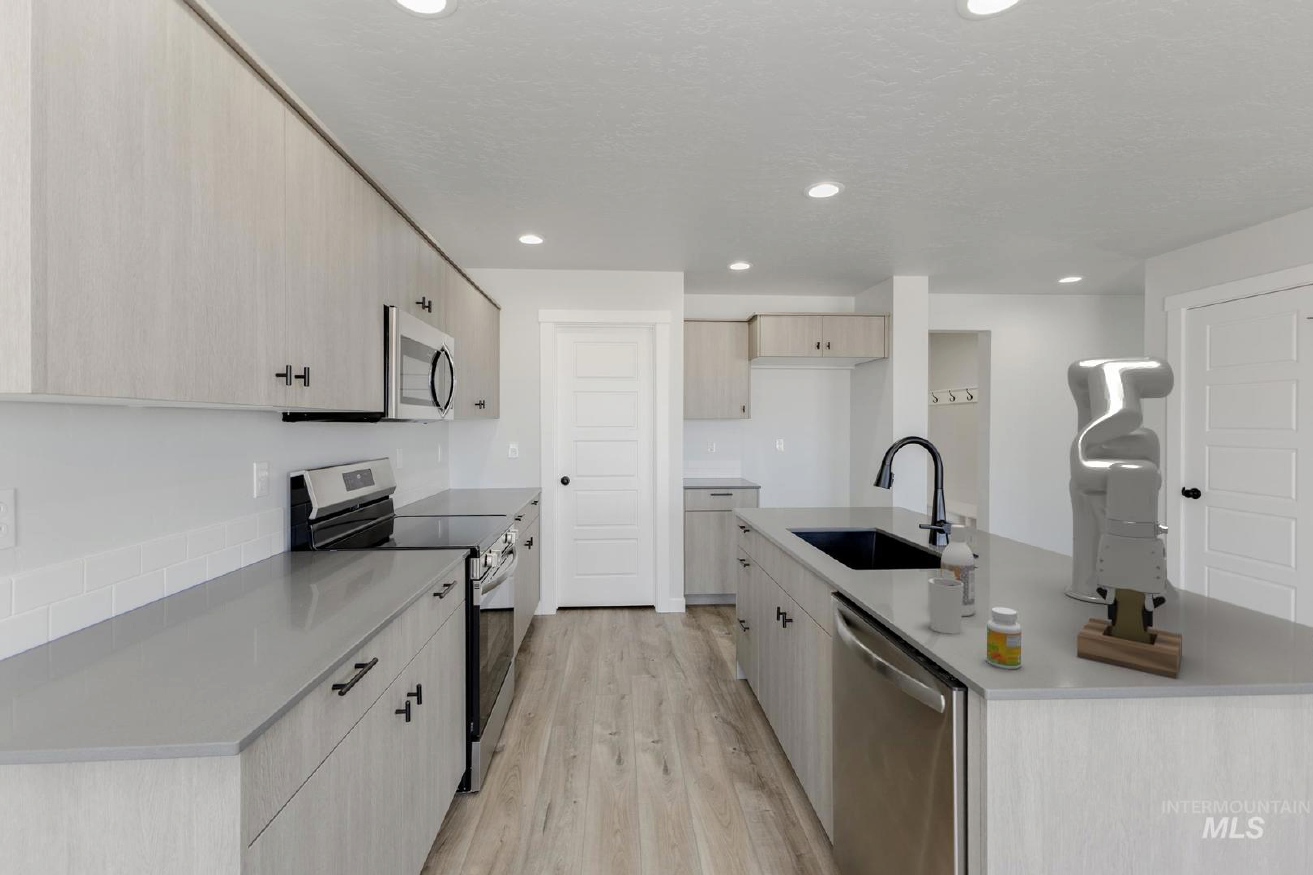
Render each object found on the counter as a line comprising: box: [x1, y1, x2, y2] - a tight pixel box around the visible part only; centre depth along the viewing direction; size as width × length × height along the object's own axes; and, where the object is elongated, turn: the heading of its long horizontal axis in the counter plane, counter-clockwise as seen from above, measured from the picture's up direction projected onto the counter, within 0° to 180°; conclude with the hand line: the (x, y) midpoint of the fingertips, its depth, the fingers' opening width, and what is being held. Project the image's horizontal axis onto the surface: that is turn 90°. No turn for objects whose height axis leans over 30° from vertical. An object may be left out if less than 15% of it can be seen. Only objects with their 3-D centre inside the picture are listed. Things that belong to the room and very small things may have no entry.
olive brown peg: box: [1111, 589, 1151, 645], centre depth 112 cm, size 6×6×11 cm
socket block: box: [1076, 617, 1183, 679], centre depth 112 cm, size 14×14×4 cm
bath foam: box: [940, 524, 976, 617], centre depth 138 cm, size 7×7×20 cm
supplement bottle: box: [986, 606, 1022, 670], centre depth 109 cm, size 5×5×10 cm
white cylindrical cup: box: [928, 577, 963, 635], centre depth 127 cm, size 7×7×10 cm
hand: (1129, 626), depth 112 cm, fingers closed on olive brown peg, 3 cm apart
